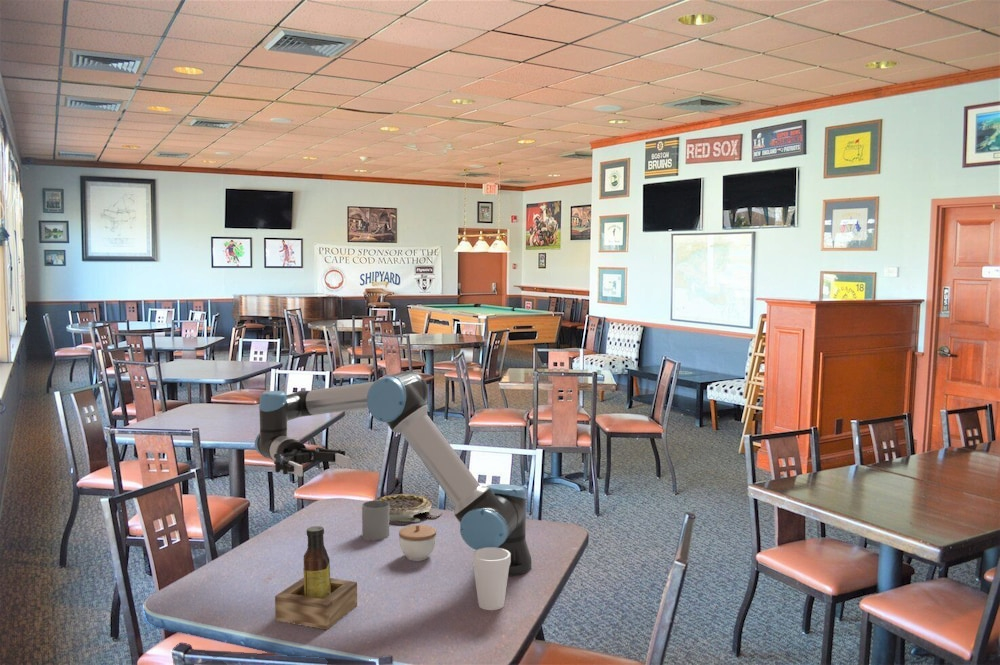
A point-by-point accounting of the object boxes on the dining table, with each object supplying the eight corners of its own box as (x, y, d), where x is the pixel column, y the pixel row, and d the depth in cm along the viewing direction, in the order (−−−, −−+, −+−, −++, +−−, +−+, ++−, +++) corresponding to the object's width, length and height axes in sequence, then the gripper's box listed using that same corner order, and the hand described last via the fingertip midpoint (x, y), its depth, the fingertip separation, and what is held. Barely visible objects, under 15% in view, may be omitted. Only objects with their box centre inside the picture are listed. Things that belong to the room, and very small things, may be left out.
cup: (383, 541, 239) (383, 509, 238) (358, 539, 240) (358, 507, 239) (392, 532, 247) (392, 501, 246) (368, 530, 248) (368, 499, 248)
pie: (345, 520, 259) (345, 505, 259) (385, 499, 285) (385, 485, 284) (420, 531, 249) (420, 515, 249) (455, 508, 275) (455, 494, 274)
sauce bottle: (336, 608, 189) (335, 528, 187) (314, 617, 184) (313, 535, 182) (320, 600, 193) (319, 522, 191) (298, 608, 188) (297, 528, 187)
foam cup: (496, 616, 187) (497, 563, 186) (465, 607, 192) (465, 556, 191) (517, 602, 195) (517, 551, 194) (486, 593, 200) (486, 544, 199)
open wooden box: (357, 605, 193) (357, 582, 192) (326, 630, 179) (326, 605, 179) (308, 597, 197) (308, 574, 197) (275, 620, 184) (274, 596, 184)
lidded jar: (413, 566, 218) (412, 534, 217) (391, 556, 226) (391, 524, 225) (443, 557, 225) (443, 526, 224) (421, 547, 233) (421, 517, 232)
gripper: (329, 458, 226) (367, 473, 210) (245, 472, 209) (280, 489, 193) (328, 432, 225) (367, 445, 209) (245, 445, 209) (280, 460, 193)
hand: (325, 467), depth 201 cm, fingers open, 13 cm apart
